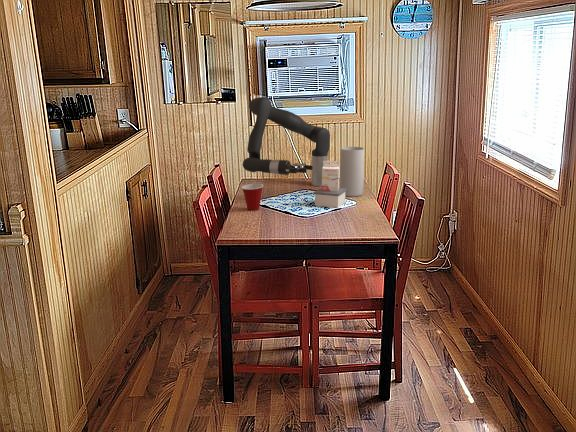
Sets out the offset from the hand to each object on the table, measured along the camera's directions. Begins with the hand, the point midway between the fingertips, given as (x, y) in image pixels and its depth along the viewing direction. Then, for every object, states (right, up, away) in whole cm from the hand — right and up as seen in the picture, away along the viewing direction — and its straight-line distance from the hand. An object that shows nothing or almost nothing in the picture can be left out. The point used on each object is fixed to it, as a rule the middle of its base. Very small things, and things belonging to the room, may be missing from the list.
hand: (309, 169), depth 300 cm
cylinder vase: (+23, -12, +20) cm, 33 cm away
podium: (+11, -18, 0) cm, 20 cm away
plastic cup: (-28, -21, -9) cm, 36 cm away
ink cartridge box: (+10, -11, -1) cm, 15 cm away
